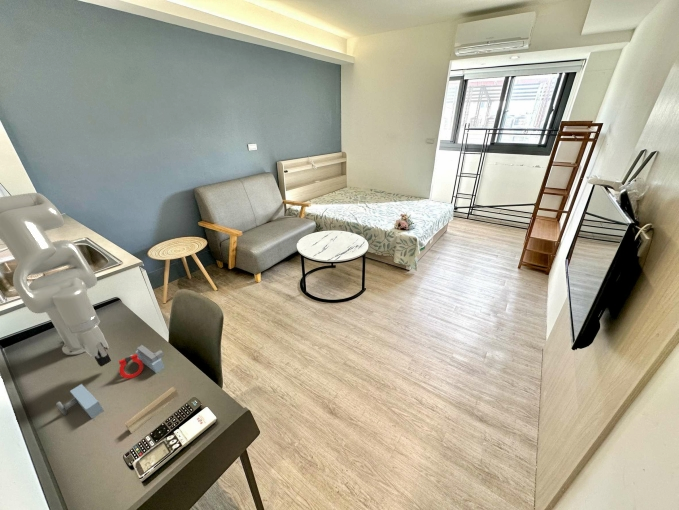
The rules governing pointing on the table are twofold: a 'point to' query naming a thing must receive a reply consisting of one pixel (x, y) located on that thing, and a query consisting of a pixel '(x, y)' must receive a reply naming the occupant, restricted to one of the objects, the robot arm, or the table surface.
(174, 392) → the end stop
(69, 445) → the table surface
